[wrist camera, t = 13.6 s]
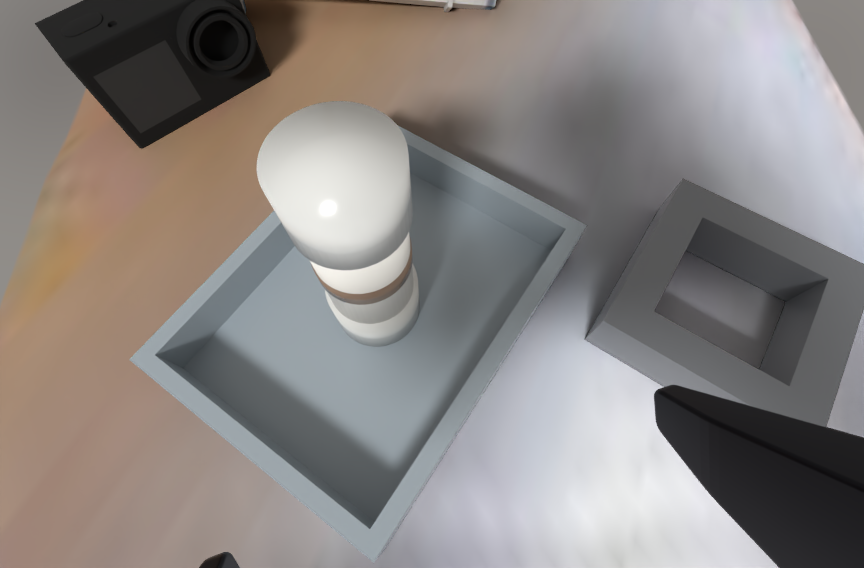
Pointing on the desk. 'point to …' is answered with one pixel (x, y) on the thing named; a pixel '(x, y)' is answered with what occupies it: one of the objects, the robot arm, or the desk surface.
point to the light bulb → (348, 212)
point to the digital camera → (157, 58)
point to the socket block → (759, 265)
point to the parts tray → (364, 347)
